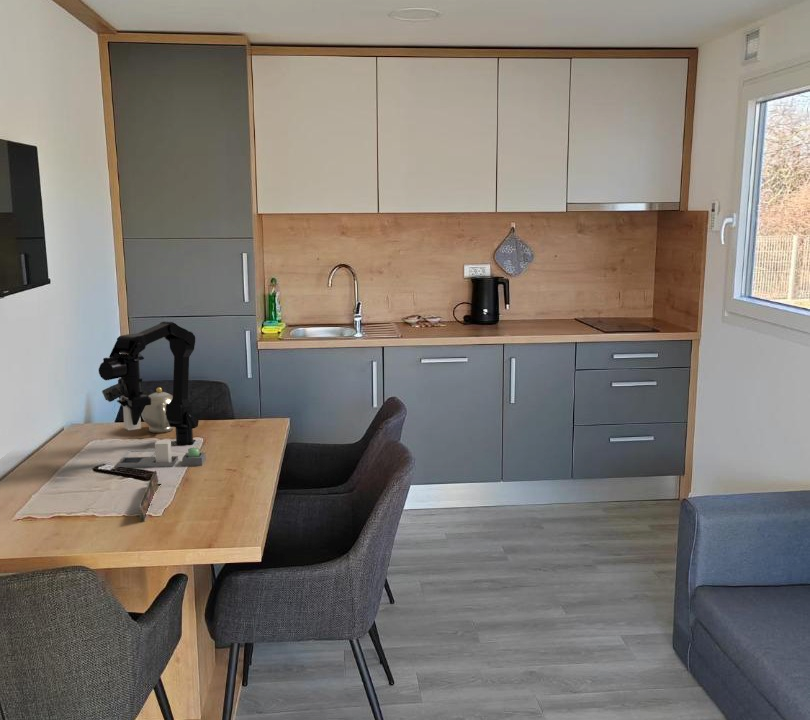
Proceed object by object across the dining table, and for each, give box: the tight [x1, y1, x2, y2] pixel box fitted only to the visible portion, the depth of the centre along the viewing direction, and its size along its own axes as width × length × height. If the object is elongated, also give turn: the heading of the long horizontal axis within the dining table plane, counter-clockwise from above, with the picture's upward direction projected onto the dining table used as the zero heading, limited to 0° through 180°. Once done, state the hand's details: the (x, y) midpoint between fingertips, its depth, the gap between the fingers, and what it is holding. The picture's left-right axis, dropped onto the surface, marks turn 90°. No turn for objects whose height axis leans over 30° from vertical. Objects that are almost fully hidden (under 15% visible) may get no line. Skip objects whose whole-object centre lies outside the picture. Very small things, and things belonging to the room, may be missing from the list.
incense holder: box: [138, 470, 162, 523], centre depth 221 cm, size 30×1×5 cm, turn 9°
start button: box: [187, 447, 200, 457], centre depth 253 cm, size 3×3×3 cm
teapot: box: [141, 387, 175, 434], centre depth 294 cm, size 18×14×16 cm
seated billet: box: [154, 439, 173, 463], centre depth 252 cm, size 4×4×7 cm
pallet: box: [116, 455, 179, 469], centre depth 253 cm, size 8×17×2 cm, turn 93°
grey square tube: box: [181, 452, 207, 467], centre depth 253 cm, size 6×6×4 cm
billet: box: [122, 406, 142, 431], centre depth 254 cm, size 4×4×7 cm
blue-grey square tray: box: [119, 449, 155, 461], centre depth 262 cm, size 10×10×1 cm
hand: (132, 423), depth 255 cm, fingers closed on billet, 4 cm apart
